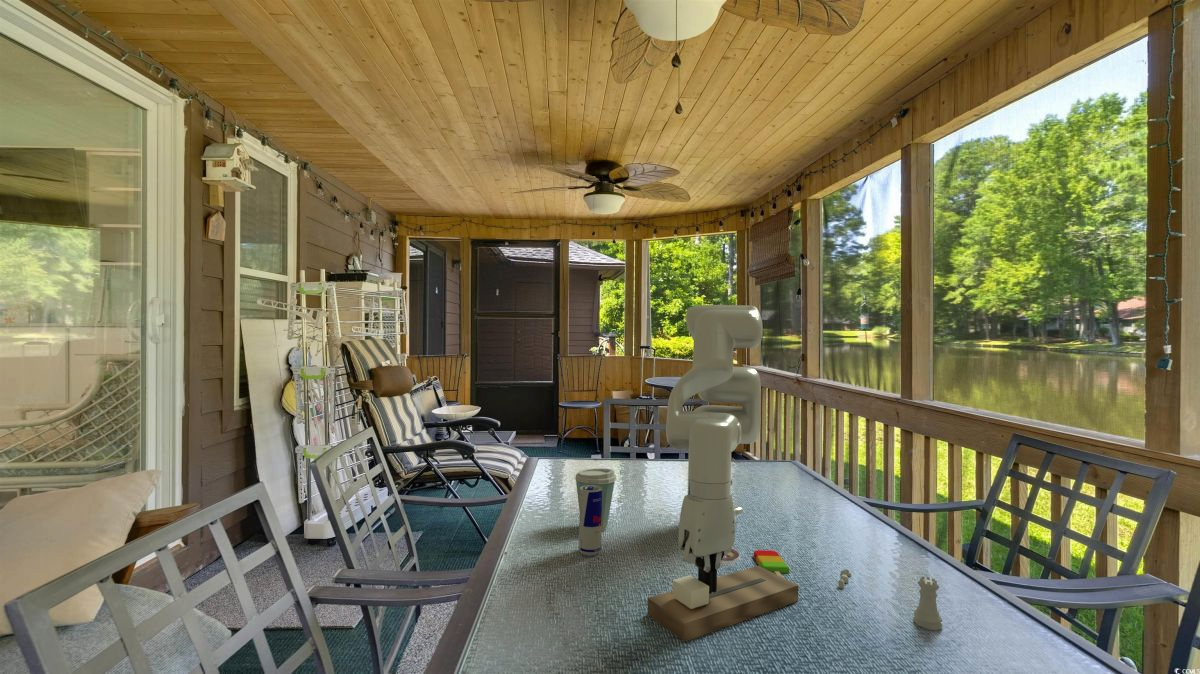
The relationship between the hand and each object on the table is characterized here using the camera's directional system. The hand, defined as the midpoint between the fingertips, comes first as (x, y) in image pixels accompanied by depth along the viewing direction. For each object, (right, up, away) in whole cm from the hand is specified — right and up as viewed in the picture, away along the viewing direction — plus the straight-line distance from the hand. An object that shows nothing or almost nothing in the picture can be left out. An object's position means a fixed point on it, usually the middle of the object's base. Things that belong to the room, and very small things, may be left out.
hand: (707, 589), depth 99 cm
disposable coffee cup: (-21, -4, +43) cm, 47 cm away
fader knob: (-3, -1, -2) cm, 4 cm away
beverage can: (-22, -4, +27) cm, 35 cm away
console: (+4, -4, +2) cm, 6 cm away
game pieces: (+31, -5, +14) cm, 34 cm away
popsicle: (+18, -5, +19) cm, 27 cm away
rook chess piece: (+38, -5, -2) cm, 39 cm away
